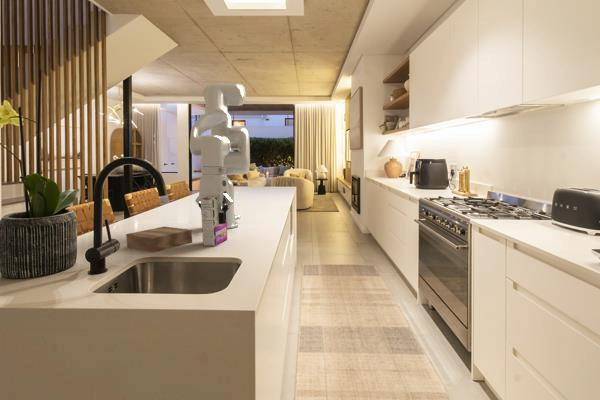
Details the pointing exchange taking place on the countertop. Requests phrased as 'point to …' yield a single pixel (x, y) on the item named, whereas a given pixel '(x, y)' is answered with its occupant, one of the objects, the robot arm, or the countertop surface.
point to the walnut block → (159, 238)
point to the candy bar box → (212, 223)
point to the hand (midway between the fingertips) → (214, 222)
